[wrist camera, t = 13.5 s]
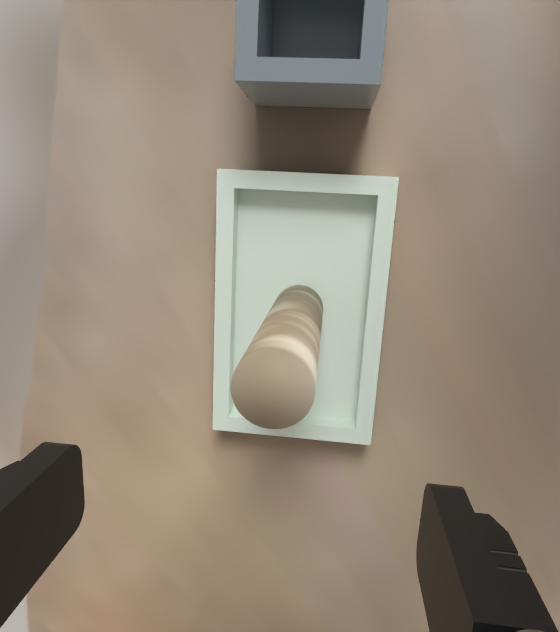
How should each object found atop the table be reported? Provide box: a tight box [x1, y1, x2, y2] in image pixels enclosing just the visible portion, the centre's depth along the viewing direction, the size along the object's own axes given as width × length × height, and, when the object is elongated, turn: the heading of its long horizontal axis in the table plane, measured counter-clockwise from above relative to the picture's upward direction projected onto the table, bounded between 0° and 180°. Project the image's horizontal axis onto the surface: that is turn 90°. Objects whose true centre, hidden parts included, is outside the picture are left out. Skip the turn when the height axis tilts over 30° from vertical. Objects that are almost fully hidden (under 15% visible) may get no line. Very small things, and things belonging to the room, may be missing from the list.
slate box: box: [234, 0, 389, 109], centre depth 24 cm, size 7×7×6 cm
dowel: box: [230, 285, 323, 429], centre depth 23 cm, size 3×3×13 cm
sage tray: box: [213, 169, 399, 445], centre depth 29 cm, size 10×16×2 cm, turn 177°
